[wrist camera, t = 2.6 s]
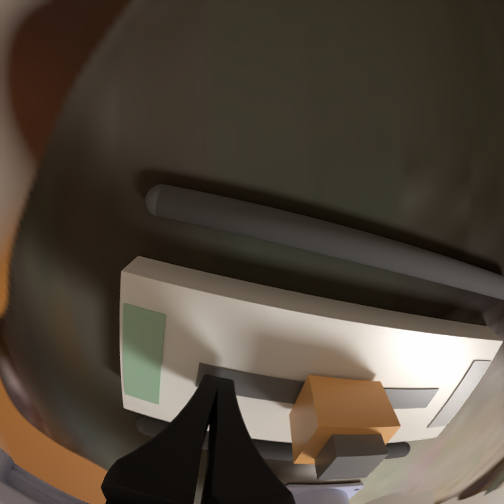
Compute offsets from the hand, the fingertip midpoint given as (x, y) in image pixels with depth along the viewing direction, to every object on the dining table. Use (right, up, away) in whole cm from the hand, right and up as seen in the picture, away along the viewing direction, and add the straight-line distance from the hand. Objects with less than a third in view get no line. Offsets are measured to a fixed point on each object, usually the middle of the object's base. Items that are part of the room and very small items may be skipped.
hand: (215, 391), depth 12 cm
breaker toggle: (+6, -1, +1) cm, 6 cm away
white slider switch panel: (+6, 0, +3) cm, 7 cm away
